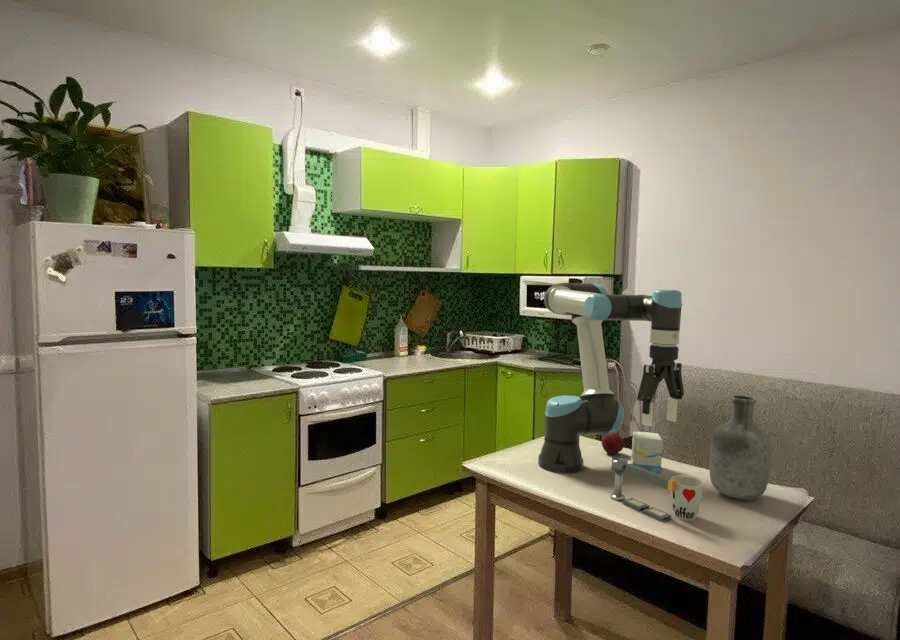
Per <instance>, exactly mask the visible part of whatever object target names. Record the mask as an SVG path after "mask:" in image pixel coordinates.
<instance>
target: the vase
mask: <svg viewBox="0 0 900 640" xmlns="http://www.w3.org/2000/svg"><path fill="white" fill-rule="evenodd" d="M730 401H732V414H731V418H730V419H729V420H728V421H727V422H726V423H723V424H722V423H721V424H720V425H718V426H716V427H715V428H714V429H713V431H712V433H711V440H710V449H709V478H710V483H711V485H712V487H714V489H715V490H717V491H719V493H721V494H724V495H725V496H727V497H731V498H733V499H738V500H752V499H756V498H759V497H761V496H762V495H763V494H764V493H765V492H766V490H767V486H768V483H769V479H770V470H771V459H772V457H771V456H772V442H771V437H770V436H769V434H768V433H767V432H765V431H764V430H763V429H761V428H759V427H758V426H757V425H756V423H755V421H754V410H755V404H757V402H758V401H757V398H755V397H753V396H749V395H741V394H740V395H739V394H738V395H737V394H735V395H733V394H732V395H731V396H730Z"/></svg>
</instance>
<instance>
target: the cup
mask: <svg viewBox="0 0 900 640" xmlns="http://www.w3.org/2000/svg"><path fill="white" fill-rule="evenodd" d="M670 478H671V479H675V480H677V491H673V492H671V491H670V495H671V496H670V497H671V505H672V509H673V514H674V516H675V518H677V519H679V520H681V521H684V522H685V521H686V522H693V521H695V519H696V518H697V515H698V514H699V510H700V507H701V502H702V499H703V493H704V487H705V483H704V482H703V481H702V480H700V479H699V478H696V477H692V476H687V475H675V476H672V477H670Z"/></svg>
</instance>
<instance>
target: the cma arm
mask: <svg viewBox="0 0 900 640" xmlns="http://www.w3.org/2000/svg"><path fill="white" fill-rule="evenodd" d="M628 462H629V461H628V459H626V458H622V457H612V459H611V467H610V468H611V470H612V471H613V472H615V471H616V472H623V473H626V474H628V475H630V476H633V477H635V478H638V479H640V480H642V481H645V482H647V483H651V484H652V485H655V486H658V487H661V488H663V489H665V490H667V492H668V491H669V492H670V493H671V492H673V491H677V480H675V479H671V478H672V477H667V476H664V475H663V474H661V473H660V474H659V473H655V472H652V471H649V470H647V469H644V468H641V467H638V466H636V465H633V464H631V463H628Z"/></svg>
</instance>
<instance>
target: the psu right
mask: <svg viewBox="0 0 900 640" xmlns="http://www.w3.org/2000/svg"><path fill="white" fill-rule="evenodd" d="M642 514H644V515H646V516H648V517H650V518H653V519H655V520H657V521H659V522H665V521H669V520H672V514H670V513H667V512H665V511H663V510H661V509H658V508H656V507H654V506H651V507H650V508H647V509H644V510H643V511H642Z"/></svg>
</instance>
